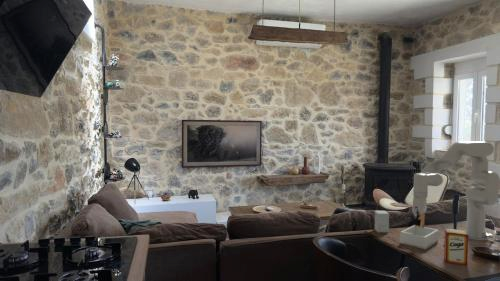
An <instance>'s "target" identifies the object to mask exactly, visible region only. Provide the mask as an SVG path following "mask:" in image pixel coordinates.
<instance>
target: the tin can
mask: <svg viewBox="0 0 500 281" xmlns="http://www.w3.org/2000/svg"><path fill="white" fill-rule="evenodd" d="M417 214H419V213H417ZM418 216H419V215H418ZM424 218H425V217H424V212H423V213H422V214H421V215H420V219H421V226H417V225H415V224H414V225H415V228H418V229H424V227H425V221H424Z"/></svg>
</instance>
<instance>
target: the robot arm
mask: <svg viewBox="0 0 500 281" xmlns="http://www.w3.org/2000/svg"><path fill="white" fill-rule="evenodd" d="M494 149H495V148H494V144H492V143H491V142H489V141H477V140H469V141H456V142H453V144H451V146H450V147H449V148H448V149H447V150H446V151H445V152H444V154H442V156H441V157H439V158H438V159H435V160H433V161H431V162H429V164H427V165H426V166H424V168H423V169H421V170H420V172H418V173H417V172H416V173H414V175H413V195H412V196H413V200H412V205H411V206H412V208H411V213H412V214H413V216H414V225H417V226H421V219H420V215H421V214H422V213H423V212H424V222H426V221H425V217H426V212H427V208H428V206H427V204H428V203H427V199H428V191H429V188H428V186H429V187H430V186H431V187H438V186H440V185H442V184H443V181H444V179H443V176H442V175H440V174H438V172H439V171H443V170H448V169H452V168H453V167H455V165H456V164H458V162H459V161H460V160H461V159H462V158H463V157H468V158H470V160H471V168H470V182H471V183H472V184H473V185H477V186H470V187H468V188H467V189H466V191H465V197H466V198H465V199H466V206H467V207H466V208H467V209H466V232H467V234H468V240H469V239H470V240H473V241H482V242H483V241H488V240H489V239H494V235H493V234H492V233H487V230H486V212H487V210H486V207H485V206H491V207H492V206H494V205H496V204H498V203H497V202H498V200H499V195H500V175H499V174H498V173H497V172H495V171H492V170H489V159H488V157H489V156H491V155H492V154H493V153H494ZM480 186H481V187H480ZM482 186H483V187H482ZM417 213H419V214H417ZM418 215H419V216H418ZM488 238H489V239H488Z"/></svg>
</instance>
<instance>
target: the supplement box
mask: <svg viewBox="0 0 500 281" xmlns="http://www.w3.org/2000/svg"><path fill="white" fill-rule="evenodd" d="M374 230H375V231H376V232H377V233H390V213H389V212H388V211H386V210H375V211H374Z"/></svg>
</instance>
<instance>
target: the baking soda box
mask: <svg viewBox="0 0 500 281" xmlns="http://www.w3.org/2000/svg"><path fill="white" fill-rule="evenodd" d="M443 243H444V245H443V246H444V247H443V248H444V249H443V259H444V261H445V264H446V263H447V264H453V265H462V266H468V255H469V254H468V252H469V238H468V234H467V230H463V229H462V230H461V229H456V228H444V241H443Z"/></svg>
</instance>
